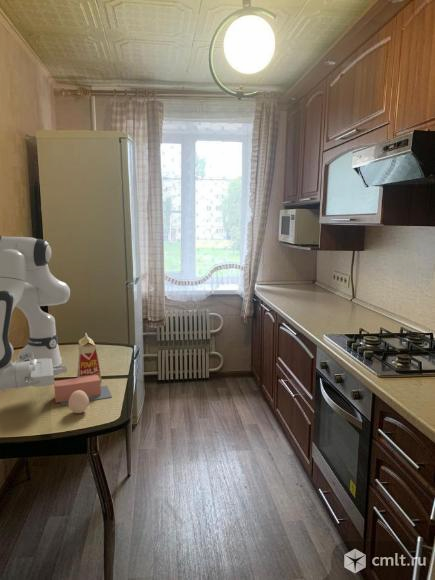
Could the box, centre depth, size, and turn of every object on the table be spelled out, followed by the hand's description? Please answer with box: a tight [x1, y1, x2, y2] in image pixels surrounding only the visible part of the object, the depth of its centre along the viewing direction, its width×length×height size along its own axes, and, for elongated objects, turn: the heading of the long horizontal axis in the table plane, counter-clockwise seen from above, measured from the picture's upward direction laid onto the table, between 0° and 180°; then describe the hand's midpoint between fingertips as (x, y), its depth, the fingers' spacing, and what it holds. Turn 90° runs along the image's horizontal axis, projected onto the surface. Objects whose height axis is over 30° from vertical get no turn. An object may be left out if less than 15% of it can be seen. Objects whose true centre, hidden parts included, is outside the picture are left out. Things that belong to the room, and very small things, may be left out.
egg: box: [68, 390, 90, 414], centre depth 141 cm, size 7×7×8 cm
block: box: [53, 375, 102, 404], centre depth 154 cm, size 6×6×16 cm
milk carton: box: [76, 332, 103, 383], centre depth 168 cm, size 9×9×20 cm
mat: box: [59, 385, 113, 407], centre depth 155 cm, size 18×12×1 cm, turn 113°
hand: (66, 368), depth 151 cm, fingers closed
